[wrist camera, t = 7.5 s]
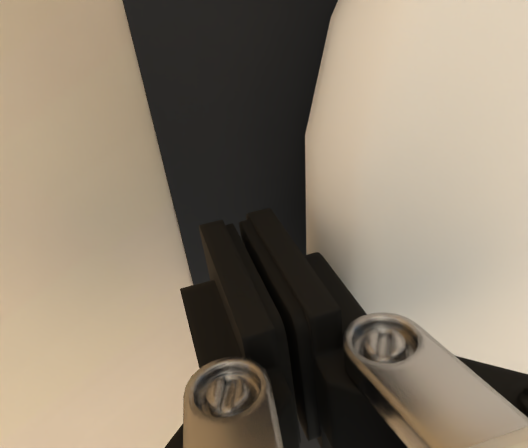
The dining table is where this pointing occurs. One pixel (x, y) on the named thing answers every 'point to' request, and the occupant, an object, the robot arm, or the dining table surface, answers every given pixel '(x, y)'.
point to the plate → (426, 167)
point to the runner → (231, 108)
